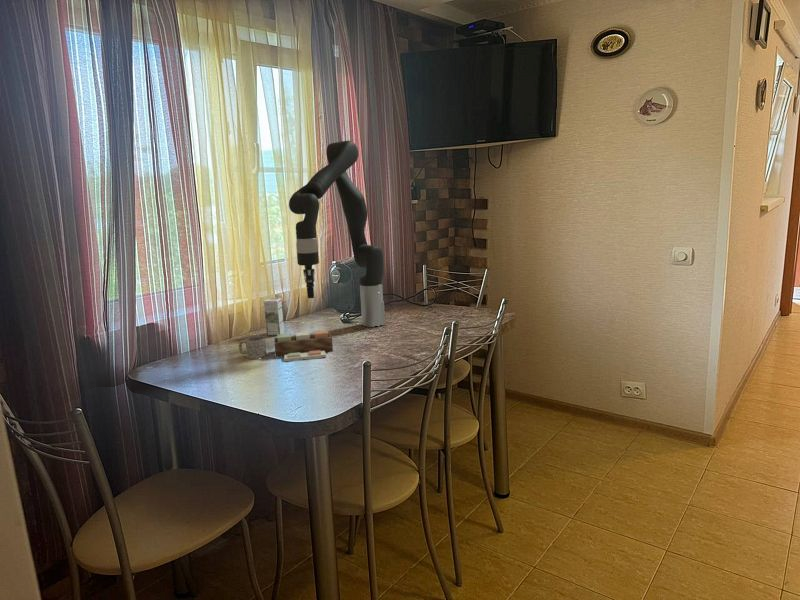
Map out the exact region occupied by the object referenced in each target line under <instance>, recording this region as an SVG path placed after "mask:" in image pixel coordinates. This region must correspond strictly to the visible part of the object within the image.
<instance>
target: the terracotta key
mask: <svg viewBox="0 0 800 600" xmlns="http://www.w3.org/2000/svg"><path fill="white" fill-rule="evenodd" d="M328 332H329V331H328V329H321V330H320V329H319V330H314V331H313V334H314V338H326V337H328Z"/></svg>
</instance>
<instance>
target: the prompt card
mask: <svg viewBox="0 0 800 600" xmlns="http://www.w3.org/2000/svg"><path fill="white" fill-rule="evenodd" d="M283 357H284V362H285V361H286V362H293V361H294V360H296V361H303V359H306V360H313V358H315V359H323V358H322V357H325V358H327V355H326V352H325V351H321V350H317V351H309V352H306V353H300V352H297V353H289V354H287V355H284V356H283Z"/></svg>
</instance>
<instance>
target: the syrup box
mask: <svg viewBox="0 0 800 600" xmlns="http://www.w3.org/2000/svg"><path fill="white" fill-rule="evenodd" d="M263 307H264V318H265V320H264V321H265V327H266V335H267V336H272V337H273V336H274V337H275V336H277V334H282V333H283V334H285V327H284V326H285V325H284V324H285V323H284V316H283V314H284V313H283V303H282V297H279V298H278V297H271V298H269V297H268V298H267V297H266V299H264V300H263Z"/></svg>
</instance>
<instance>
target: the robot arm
mask: <svg viewBox="0 0 800 600" xmlns="http://www.w3.org/2000/svg"><path fill="white" fill-rule="evenodd" d="M325 151H326V158H327V162H328V163H327V165H325V166H324V167H322V168H321V169H320V170H318V171H316V173H315V174H314V175H313V176H312V177H311V178H310V180H309V181H308V182H307V183H306V184H305V185H303V186H302V187H300V188H299V189H297V190H296V191H295V192H294V193H293V194H292V195H291V197H290V199H289V201H288V207H289V210H290V212H291V213H293V214H294V215H295V214H296V215H304V218H303V220H301V221H298V222H296V224H295V236H296V243H295V244H296V248H295V249H296V259H297V260H296V261H297V265H298V266H302V267H303V266H304V269H302V271H303V276H304V283H305V284H306V293H307V298H308V299H314V298H315V291H314V287H315V282H316V281H315V274H316V273H315V272H316V271H315V268H313V266H315V265H318V264H319V263H320V260H319V259H320V258H319V257H320V255H319V244H318V240H317V239H318V238H317V222H318V216H319V211H320V202H319V201H320V199H321V198H323V197H324V195H325V194H326V193H327V192H328V190H329V189H330V188H331V186H332V185H333V184H334V183H335V184H336V189H337V191H338V195H339V197H340V201H341V207H342V210H343V214H344V217H345V220H346V224H347V228H348V233H349V237H350V243H351V249H352V254H353V258H354V262H355V264H356V265H357V266H358V267H360V268H366V271H365V275H363V276H361V277H360V278H359V293H360V294H359V295H360V296H359V297H360V308H361V309H360V310H361V312H360V313H361V325H363V327H365V326H366V327H365V328H376V327H375V326H378V327H381V326H380V325H382V326H385V325H386V314H385V313H386V312H385V310H386V309H385V302H384V295H383V294H384V292H383V278H384V264H385V263H384V260H385V259H384V252H383V251H382V249H381V248H380V247H379V246H377V245H370V244H368V242H367V239H366V232H365V231H366V224H367V221H368V208H367V203H366V200H365V197H364V195H363V193H362V191H361V190H360V189H359V188H358V187H357V185H356V184H354V182H353V181H352V180H351V179H350V177H349V175H348V172H347V170H348V169H350V168H351V167H352V166H353V165H354V164H356V163H357V161H358V158H359V148H358V146H357V145H356V143H355V142H354V141H352V140H343V141H342V140H341V141H337V142H336V141H335V142H330V143H329V144H328V145H327V147H326V150H325Z"/></svg>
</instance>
